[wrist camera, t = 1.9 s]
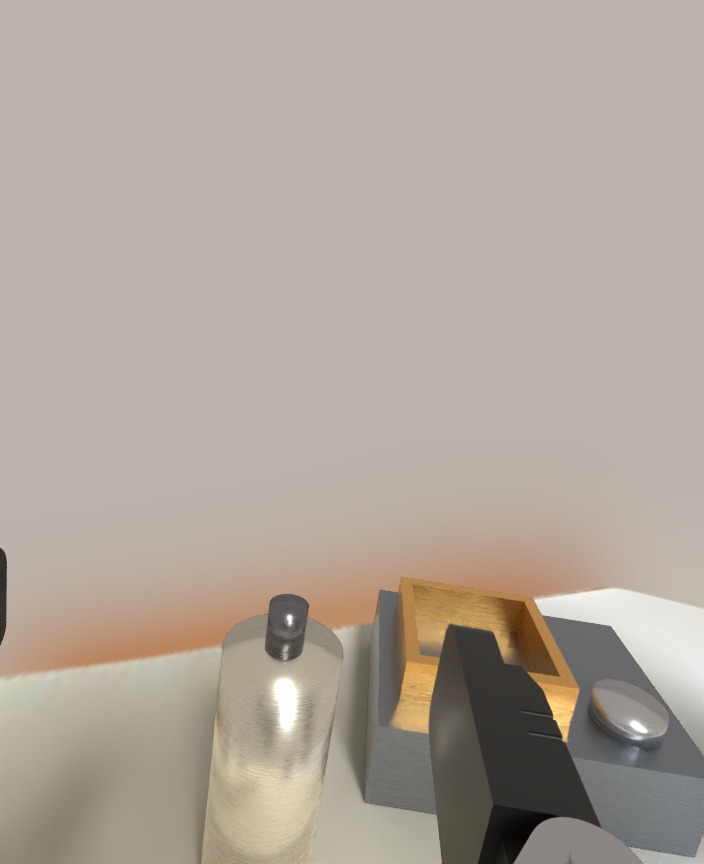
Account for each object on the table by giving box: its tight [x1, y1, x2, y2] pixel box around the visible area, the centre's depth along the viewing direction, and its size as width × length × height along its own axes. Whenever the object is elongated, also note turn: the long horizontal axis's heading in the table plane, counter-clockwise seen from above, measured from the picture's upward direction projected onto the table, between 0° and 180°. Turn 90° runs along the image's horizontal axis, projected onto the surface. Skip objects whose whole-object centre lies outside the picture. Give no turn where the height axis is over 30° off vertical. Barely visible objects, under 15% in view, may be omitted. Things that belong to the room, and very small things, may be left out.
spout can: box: [201, 594, 343, 864], centre depth 24 cm, size 5×5×14 cm
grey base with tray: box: [364, 577, 704, 857], centre depth 35 cm, size 18×14×8 cm
